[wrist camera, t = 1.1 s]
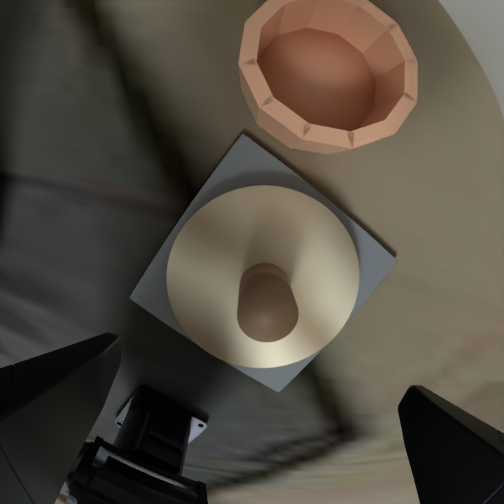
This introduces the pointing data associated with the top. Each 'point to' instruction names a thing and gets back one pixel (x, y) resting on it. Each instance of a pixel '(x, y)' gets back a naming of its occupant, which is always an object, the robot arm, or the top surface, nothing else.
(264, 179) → the mat
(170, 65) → the top surface
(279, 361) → the lid
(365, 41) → the bowl
